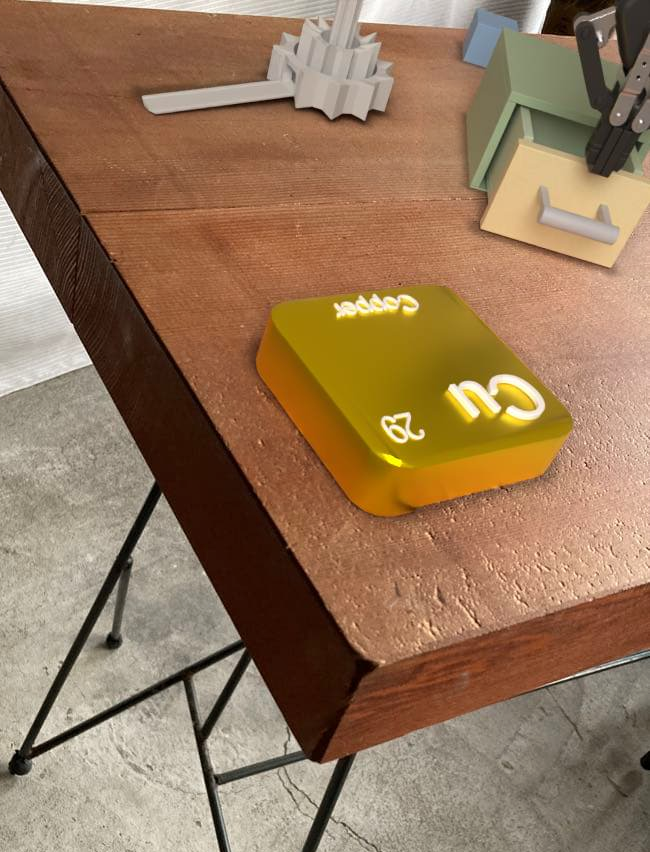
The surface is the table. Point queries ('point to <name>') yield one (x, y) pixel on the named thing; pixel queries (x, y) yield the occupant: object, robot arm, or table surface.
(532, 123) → the drawer
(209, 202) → the table surface
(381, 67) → the mechanical component
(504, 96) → the cabinet
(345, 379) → the element tile
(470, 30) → the block
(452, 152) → the table surface
